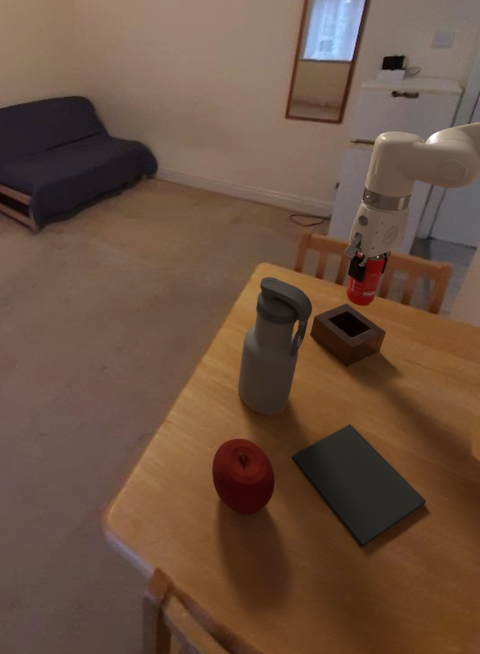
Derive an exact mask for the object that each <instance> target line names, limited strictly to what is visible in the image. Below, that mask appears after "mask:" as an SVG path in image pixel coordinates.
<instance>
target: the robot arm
mask: <svg viewBox="0 0 480 654" xmlns="http://www.w3.org/2000/svg"><path fill="white" fill-rule="evenodd" d="M367 170H368V171H367V174H366V179H365V183H364V188H363V190H362V191H363V192H362V196H361V203H360V205H359V208H358V210H357V212H356V215H355V217H354V221H353V224H352V226H351V231H350V234H349V239H348V245H347V247H346V248H345V250H344V251H343V255H344V256H345V257H347V258H348V259H349V262H350V263H349V266H348V271H347V275H348V276H349V277H350V276H351V277H352V278H354V279H355V280H357V281H358V282H363V280H364V276H365V272H366V268H367V266H365V264H366V262H367V260H368V257H374V256H377V255H380V254H384V259H385V262H384V265H383V269H382V272H381V275H383V274H385V270H386V267H387V264H388V260H389V257H391V255H392V251H393V250H395V249H398V248H399V247H401V246H402V245H403V243H404V238H405V234H406V230H407V225H408V221H409V214H410V213H409V212H410V204H409V203H410V200H411V197H412V193H413V189H414V186H415V182H416V181H418V182H421V183H425V184H428V185H432V186H435V187H439V188H443V189H460V188H463V187H466V186H469V185H470V184H472V183H473V182H474V181H476V179H477V178H479V177H478V176H479V175H480V121H478V122H474V123H467V124H463V125H457V126H453V127H448V128H445V129H442V130H440V131H439V130H438V131H437V132H435V133H433V134H431V136H429V137H428V138H427V139H426V140H424V138H422V137H421V136H419V135H417V134H414V133H411V132H406V131H386V132H383V133H381V134H379V135H378V136H377V137H376V138H375V142H374V145H373V149H372V154H371V157H370V161H369V165H368V169H367ZM358 252H360V253H362V254H363V256H362V258H360V257H359V256H357V254H358Z"/></svg>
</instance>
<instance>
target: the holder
mask: <svg viewBox="0 0 480 654" xmlns="http://www.w3.org/2000/svg"><path fill="white" fill-rule="evenodd" d="M386 334H387V332H386V331H385V330H384V329H383V328H381V327H380V326H378V325H377V324H376V323H374V322H373V321H372V320H370V319H369V318H367V317H366V316H365V315H364V314H362V313H361V312H359V311H358V310H356V309H355V308H354V307H352V306H351V305H349V303H346V302H345V303H343V304H341V305H338V306H336V307H333V308H331V309H328V310H326V311H323V312H322V313H319V314H316V315H314V317H313V321H312V325H311V330H310V334H309V335H310V337H312V338H313V340H315V341H316V342H317V343H318V344H319V345H321V346H322V347H323V348H324V349H325V350H326V351H327V352H328V353H330V354H331V355H332V356H333V357H334V358H335V359H337V360H338V361H339V362H340V363H341V364H342V365H343V366H344V367H345V368H348V367H350V366H352V365H354V364H357V363H358V362H360V361H363V360H365V359H367V358H369V357H371V356H374V355H376V354H377V353H380V351H381V348H382V346H383V344H384V343H383V342H384V339H385V337H386Z"/></svg>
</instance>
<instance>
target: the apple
mask: <svg viewBox="0 0 480 654" xmlns="http://www.w3.org/2000/svg"><path fill="white" fill-rule="evenodd" d="M211 474H212V475H211V476H212V482H213V486H214V489H215V492H216V494H217V496H218V498H219V499H220V500H221V502H222V503H223V504H224V505H225V506H226V507H227V508H228V509H230V510H231V511H232V512H234V513H237V514H239V515H243V516H251V515H255V514H257V513H259V512H260V511H262V510H263V509H264V508H266V506H267V505H268V503H269V502H270V501H271V499H272V496H273V494H274V492H275V484H276V477H275V471H274V468H273V465H272V463H271V460H270V459H269V457H268V455H267V454H266V452H265V451H264V450H263V448H262V447H260V446H259V445H258V444H256V443H255V442H254V441H251V440H249V439H246V438H232V439H229V440H226V441H225V442H223V443H222V444H221V445H220V446H219V447H218V448H217V450H216V452H215V454H214V457H213V459H212V467H211Z"/></svg>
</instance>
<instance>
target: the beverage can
mask: <svg viewBox="0 0 480 654" xmlns="http://www.w3.org/2000/svg"><path fill="white" fill-rule="evenodd" d="M357 256H359V257H360V258H362V256H363V254H362V253H360V252H358V254H357ZM384 262H385V259H384V254H380V255H377V256H374V257H368V260H367V262H366V264H365V266H367V268H366V272H365V276H364V280H363V282H358V281H357V280H355V279H354V278H352V277H351V276H349V279H348V283H347V288H346V295H347V296H346V297H347V299H348V301H350V303H352V304H354V305H356V306H360V307H366V306H369V305H370V304H371V303H372V302H373V301H374V300H375V296H376V293H377V290H378V286H379V282H380V279H381V276H382V274H381V272H382V269H383V265H384Z"/></svg>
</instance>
